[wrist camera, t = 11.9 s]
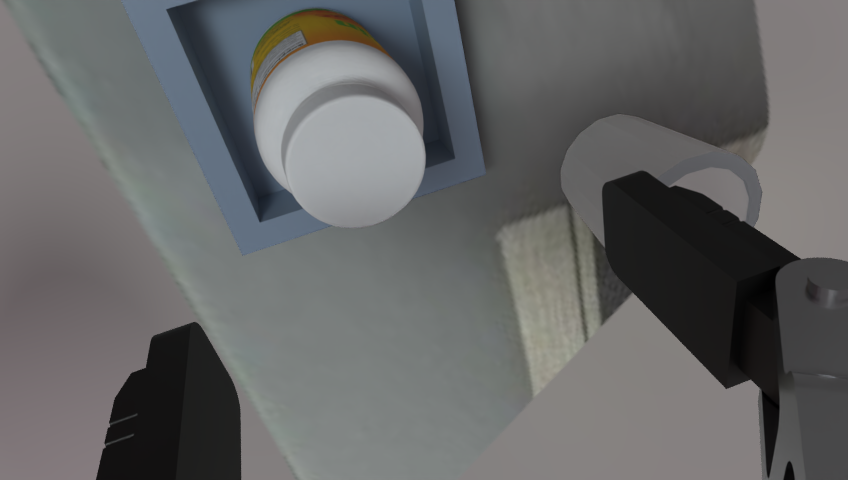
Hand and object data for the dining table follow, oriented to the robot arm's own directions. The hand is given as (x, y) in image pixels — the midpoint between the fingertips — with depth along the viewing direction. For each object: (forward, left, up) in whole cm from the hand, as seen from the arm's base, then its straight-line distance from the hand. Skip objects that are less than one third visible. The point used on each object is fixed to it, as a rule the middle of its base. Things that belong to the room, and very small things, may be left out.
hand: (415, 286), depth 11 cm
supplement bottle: (0, 0, -16) cm, 16 cm away
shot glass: (+9, +13, -17) cm, 23 cm away
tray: (0, 0, -16) cm, 16 cm away
